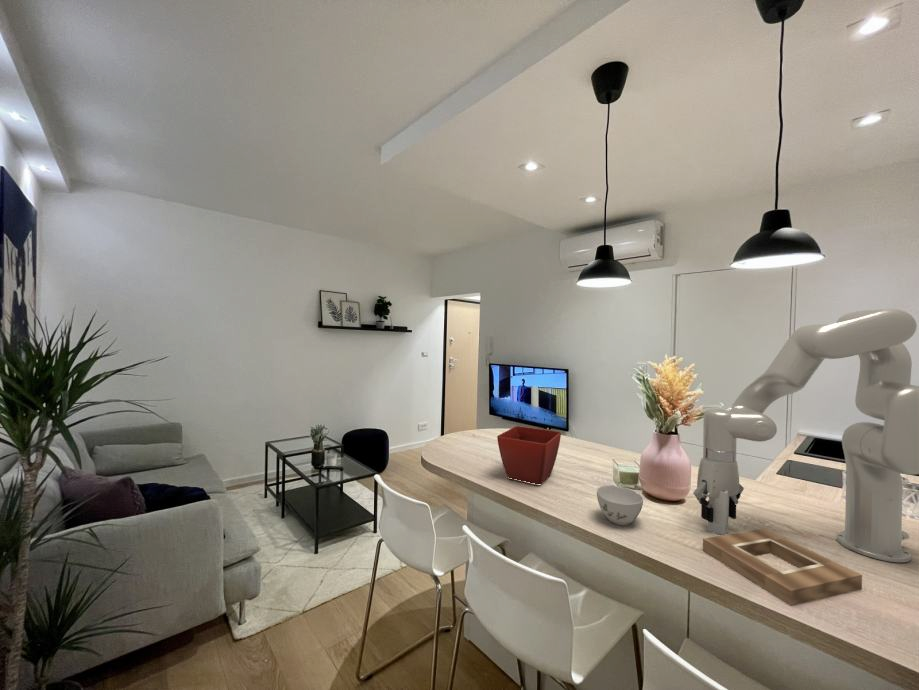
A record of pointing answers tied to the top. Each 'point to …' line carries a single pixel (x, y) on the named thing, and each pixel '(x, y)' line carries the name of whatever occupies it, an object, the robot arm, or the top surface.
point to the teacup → (619, 503)
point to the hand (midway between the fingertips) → (718, 517)
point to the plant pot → (529, 453)
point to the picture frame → (790, 586)
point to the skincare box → (720, 514)
